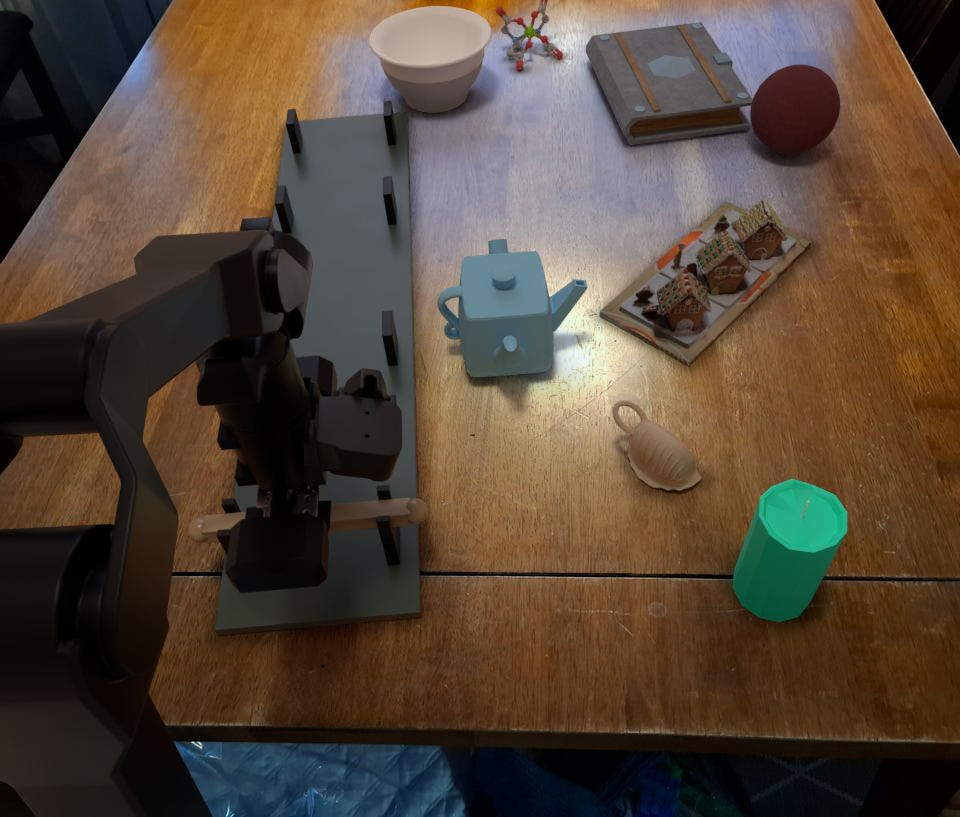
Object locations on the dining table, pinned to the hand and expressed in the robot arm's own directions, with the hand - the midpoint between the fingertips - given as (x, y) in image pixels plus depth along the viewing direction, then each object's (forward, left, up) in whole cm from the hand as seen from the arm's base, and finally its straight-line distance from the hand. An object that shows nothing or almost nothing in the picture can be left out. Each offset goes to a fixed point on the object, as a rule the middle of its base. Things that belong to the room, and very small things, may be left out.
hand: (311, 527), depth 67 cm
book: (+78, -5, -5) cm, 78 cm away
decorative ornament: (+20, -22, -5) cm, 30 cm away
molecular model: (+82, +16, -5) cm, 84 cm away
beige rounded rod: (0, 0, 0) cm, 0 cm away
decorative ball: (+72, -22, -5) cm, 76 cm away
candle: (+12, -34, -5) cm, 36 cm away
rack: (+26, +15, -5) cm, 30 cm away
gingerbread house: (+45, -20, -5) cm, 50 cm away
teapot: (+28, -5, -5) cm, 29 cm away
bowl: (+68, +24, -5) cm, 72 cm away
